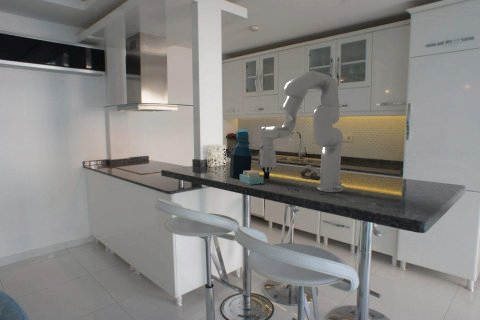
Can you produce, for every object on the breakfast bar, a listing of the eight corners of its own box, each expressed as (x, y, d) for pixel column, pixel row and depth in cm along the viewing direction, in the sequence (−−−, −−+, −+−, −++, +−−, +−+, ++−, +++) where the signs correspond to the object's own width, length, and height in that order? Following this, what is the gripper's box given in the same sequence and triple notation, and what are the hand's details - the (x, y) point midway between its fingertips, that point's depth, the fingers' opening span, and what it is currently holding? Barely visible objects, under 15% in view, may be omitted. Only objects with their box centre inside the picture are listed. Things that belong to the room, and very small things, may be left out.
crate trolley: (259, 182, 173) (259, 171, 173) (248, 183, 170) (249, 172, 169) (253, 180, 180) (253, 170, 179) (242, 181, 177) (242, 170, 176)
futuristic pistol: (317, 188, 184) (325, 174, 180) (298, 175, 191) (305, 161, 188) (319, 187, 186) (326, 174, 182) (299, 175, 193) (306, 161, 190)
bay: (263, 183, 171) (263, 176, 171) (249, 184, 167) (249, 177, 167) (253, 180, 182) (253, 173, 182) (239, 181, 178) (239, 174, 178)
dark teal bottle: (251, 179, 184) (252, 129, 181) (228, 179, 185) (228, 129, 182) (250, 174, 205) (251, 129, 202) (230, 173, 206) (230, 129, 202)
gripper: (259, 148, 171) (259, 180, 172) (281, 147, 177) (280, 178, 179) (252, 147, 177) (252, 178, 179) (274, 147, 184) (273, 177, 186)
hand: (266, 178), depth 179 cm, fingers closed
